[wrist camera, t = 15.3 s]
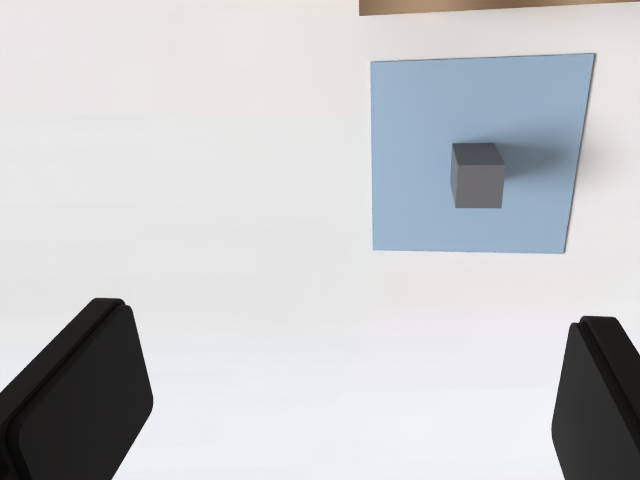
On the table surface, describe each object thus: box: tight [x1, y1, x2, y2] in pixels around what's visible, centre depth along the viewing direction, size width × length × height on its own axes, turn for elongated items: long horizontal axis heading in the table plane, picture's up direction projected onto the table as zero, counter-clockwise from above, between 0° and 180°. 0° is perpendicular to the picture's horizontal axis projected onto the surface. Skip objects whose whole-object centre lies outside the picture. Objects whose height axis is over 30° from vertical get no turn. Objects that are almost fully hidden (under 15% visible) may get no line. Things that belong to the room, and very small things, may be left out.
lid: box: [370, 54, 594, 254], centre depth 38 cm, size 15×15×6 cm
